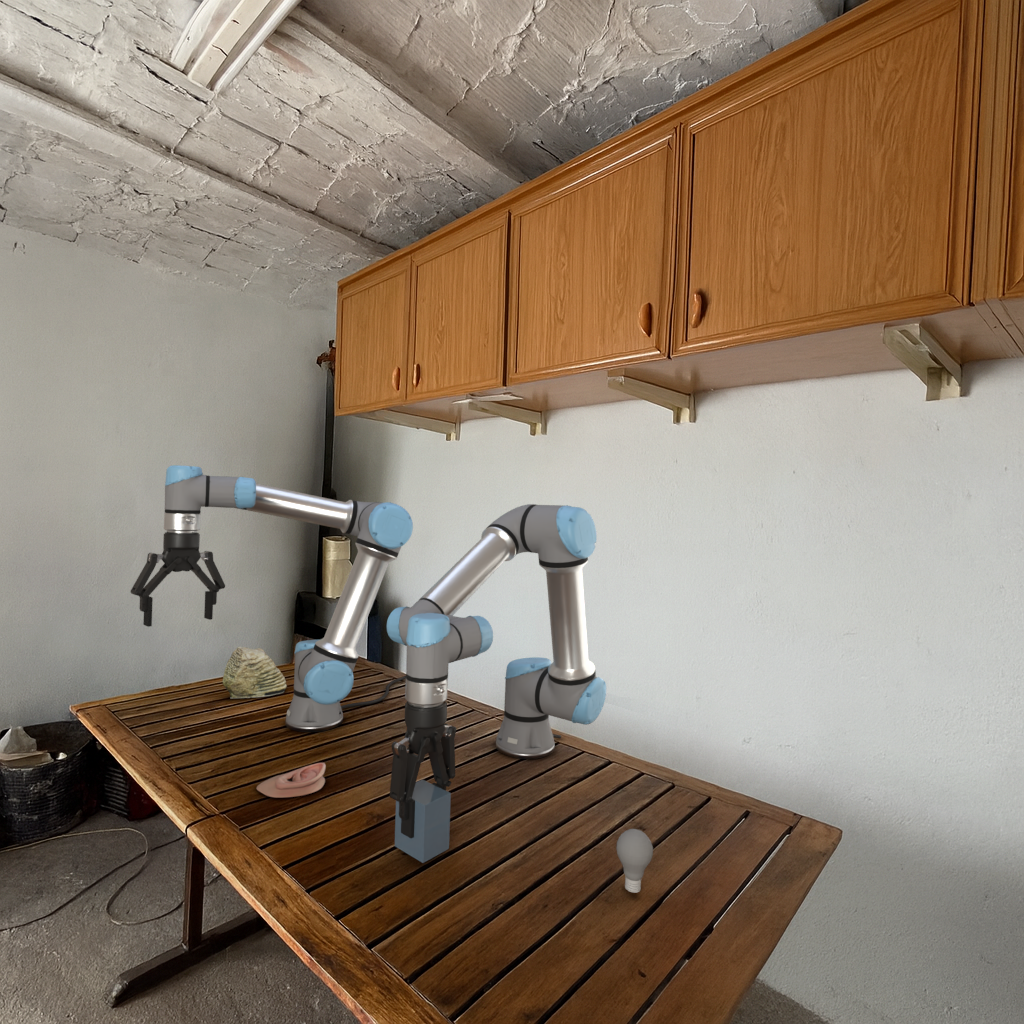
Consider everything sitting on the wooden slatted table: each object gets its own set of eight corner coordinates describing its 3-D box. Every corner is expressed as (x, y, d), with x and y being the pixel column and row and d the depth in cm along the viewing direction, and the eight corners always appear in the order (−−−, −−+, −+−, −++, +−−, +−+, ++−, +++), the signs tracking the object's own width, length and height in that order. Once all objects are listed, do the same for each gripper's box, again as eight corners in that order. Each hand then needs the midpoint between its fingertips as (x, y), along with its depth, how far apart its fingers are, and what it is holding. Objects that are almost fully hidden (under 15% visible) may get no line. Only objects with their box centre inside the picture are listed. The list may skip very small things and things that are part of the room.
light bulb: (610, 879, 108) (613, 822, 108) (644, 879, 109) (647, 822, 109) (619, 902, 102) (622, 840, 102) (655, 901, 103) (658, 840, 103)
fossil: (218, 695, 195) (220, 647, 195) (278, 685, 208) (279, 640, 207) (228, 703, 189) (230, 653, 188) (289, 692, 201) (290, 645, 201)
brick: (423, 863, 110) (424, 805, 109) (394, 846, 115) (396, 790, 114) (449, 848, 114) (450, 792, 114) (420, 832, 119) (422, 779, 119)
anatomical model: (248, 775, 133) (279, 754, 144) (247, 794, 133) (278, 771, 144) (306, 783, 130) (332, 761, 142) (305, 802, 130) (332, 779, 142)
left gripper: (128, 533, 136) (125, 631, 137) (241, 532, 155) (238, 618, 156) (116, 531, 141) (113, 625, 141) (227, 530, 160) (224, 613, 160)
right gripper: (397, 719, 104) (393, 857, 105) (478, 694, 119) (474, 815, 119) (369, 708, 109) (365, 840, 110) (450, 685, 124) (446, 801, 124)
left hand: (178, 622), depth 148 cm, fingers open, 13 cm apart
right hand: (422, 827), depth 114 cm, fingers closed on brick, 6 cm apart
